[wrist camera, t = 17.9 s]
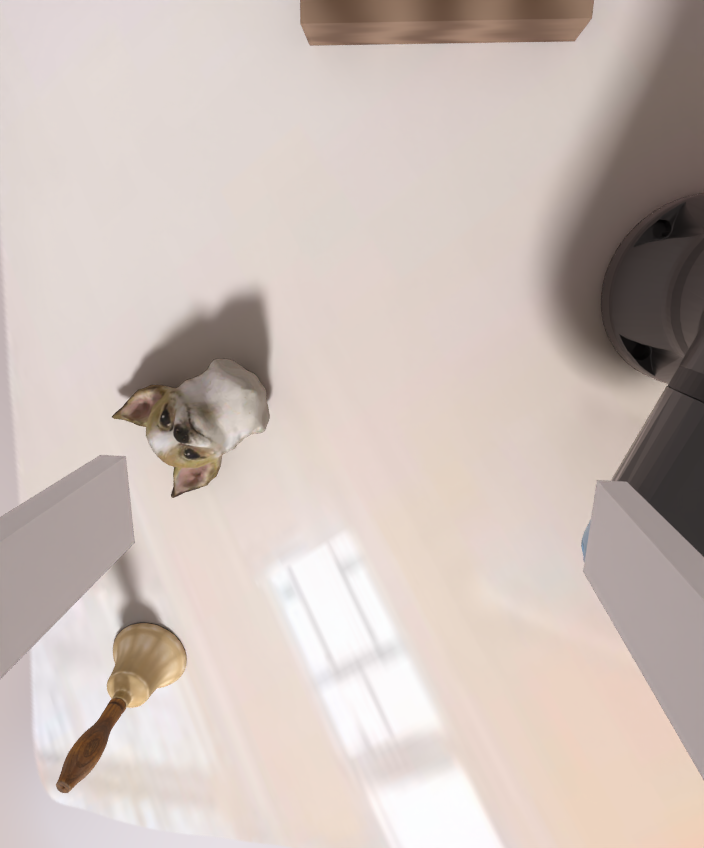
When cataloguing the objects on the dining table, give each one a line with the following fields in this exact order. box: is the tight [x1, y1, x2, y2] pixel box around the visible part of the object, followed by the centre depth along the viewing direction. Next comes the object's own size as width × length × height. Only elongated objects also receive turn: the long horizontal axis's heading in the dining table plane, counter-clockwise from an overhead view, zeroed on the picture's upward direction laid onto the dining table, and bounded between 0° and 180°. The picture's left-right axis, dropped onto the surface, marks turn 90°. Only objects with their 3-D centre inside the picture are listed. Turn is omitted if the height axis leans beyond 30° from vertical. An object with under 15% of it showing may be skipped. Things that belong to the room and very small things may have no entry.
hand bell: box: [56, 623, 186, 793], centre depth 53 cm, size 8×8×16 cm
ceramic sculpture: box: [112, 359, 270, 498], centre depth 48 cm, size 11×9×15 cm
